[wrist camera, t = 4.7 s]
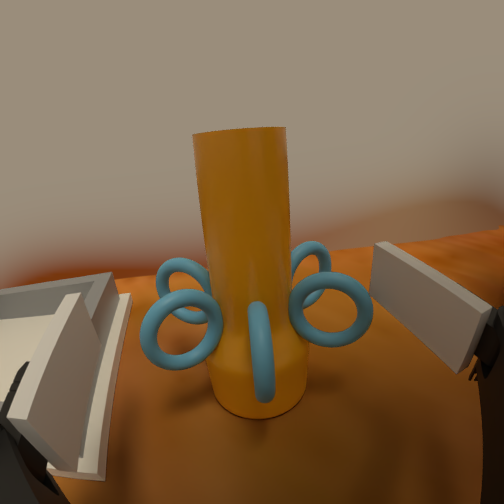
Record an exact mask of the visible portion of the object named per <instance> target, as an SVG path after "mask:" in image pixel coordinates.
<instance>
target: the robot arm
mask: <svg viewBox="0 0 504 504" xmlns="http://www.w3.org/2000/svg"><path fill="white" fill-rule="evenodd" d="M369 295H370V296H371V297H373V298H374V299H375V300H376V301H377V302H378V303H379V304H381V305H382V306H383V307H384V308H385V309H386V310H387V311H389V312H390V313H391V314H392V315H393V316H394V317H395V318H396V319H398V320H399V321H400V322H401V323H402V324H403V325H404V326H405V327H406V328H408V329H409V330H410V331H411V332H412V333H413V334H414V335H415V336H416V337H417V338H418V339H420V340H421V341H422V342H423V343H424V344H425V345H426V346H427V347H428V348H429V349H430V350H431V351H433V352H434V353H435V354H436V355H437V356H438V357H439V358H440V359H441V360H442V361H443V362H444V363H445V364H446V365H447V366H448V367H449V368H451V369H452V370H453V371H454V372H455V373H456V374H458V373H460V372H461V371H462V370H464V369H465V368H467V367H468V366H469V364H470V362H471V360H472V357H473V355H476V356H477V357H478V359H477V361H476V363H475V366H474V368H473V370H472V372H471V374H470V376H469V381H471V379H472V377H473V376H474V374H476V373H477V375H476V377H475V379H474V381H478V386H479V395H480V404H481V415H482V432H483V475H482V491H481V501H480V504H504V306H501V307H499V309H498V310H497V309H496V308H494V307H493V306H491V305H490V304H488V303H487V302H485V301H484V300H482V299H481V298H479V297H478V296H476V295H475V294H473V293H472V292H470V291H469V290H467V289H466V288H464V287H463V286H461V285H460V284H458V283H456V282H454V281H453V280H451V279H449V278H448V277H446V276H445V275H443V274H441V273H440V272H438V271H437V270H435V269H433V268H432V267H430V266H428V265H427V264H425V263H423V262H422V261H420V260H418V259H417V258H415V257H413V256H411V255H410V254H408V253H406V252H404V251H403V250H401V249H399V248H397V247H396V246H394V245H392V244H390V243H389V242H387V241H386V242H380V243H375V244H374V252H373V263H372V272H371V281H370V289H369ZM100 349H101V343H100V340H99V338H98V336H97V333H96V331H95V328H94V326H93V323H92V321H91V318H90V316H89V313H88V310H87V308H86V305H85V302H84V299H83V297H82V294H81V293H74V294H67V295H65V297H64V299H63V300H62V302H61V304H60V306H59V307H58V309H57V311H56V313H55V314H54V316H53V318H52V320H51V321H50V323H49V325H48V327H47V329H46V331H45V333H44V334H43V336H42V338H41V340H40V342H39V344H38V346H37V348H36V350H35V352H34V354H33V356H32V358H31V360H30V361H26V362H25V363H24V364H23V366H22V367H21V368H20V369H19V370H18V371H17V374H16V376H15V378H14V380H13V383H12V384H11V387H10V389H9V391H10V392H8V393H7V396H6V398H5V401H4V403H3V405H2V408H1V410H0V504H70V502H69V501H68V499H67V498H66V497H65V495H64V494H63V492H62V491H61V489H60V488H59V486H58V484H57V483H56V481H55V480H54V478H53V476H52V475H51V474H50V473H49V472H48V471H47V470H46V469H47V463H48V462H49V463H50V464H51V465H52V466H53V467H54V468H55V469H57V470H58V471H66V472H76V473H77V470H78V461H79V453H80V446H81V439H82V433H83V426H84V421H85V415H86V410H87V405H88V400H89V395H90V390H91V386H92V381H93V377H94V373H95V369H96V364H97V360H98V357H99V353H100Z"/></svg>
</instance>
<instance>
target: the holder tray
mask: <svg viewBox="0 0 504 504" xmlns="http://www.w3.org/2000/svg"><path fill="white" fill-rule="evenodd" d="M74 293H81V294H82V297H83V299H84V302H85V305H86V308H87V310H88V313H89V316H90V318H91V321H92V323H93V326H94V328H95V331H96V333H97V336H98V338H99V340H100V343H101V349H100V353H99V357H98V360H97V364H96V369H95V373H94V377H93V381H92V386H91V390H90V395H89V400H88V405H87V410H86V415H85V421H84V426H83V433H82V439H81V446H80V453H79V461H78V470H77V473H76V472H66V471H58V470H57V469H55V468H54V467H53V466H52V465H51V464H50V463H49V462H48V463H47V469H46V470H47V471H48V472H49V473H50V474H51V475H54V476H61V477H68V478H76V479H85V480H96V481H105V477H106V461H107V449H108V438H109V429H110V421H111V413H112V405H113V398H114V392H115V385H116V379H117V374H118V368H119V362H120V357H121V352H122V347H123V342H124V337H125V332H126V328H127V323H128V319H129V315H130V310H131V306H132V302H133V300H132V297H131V294H130V293H126V294H119V295H118V291H117V288H116V284H115V281H114V277H113V274H112V272H109V273H103V274H96V275H90V276H83V277H77V278H70V279H64V280H58V281H51V282H45V283H39V284H32V285H26V286H20V287H13V288H7V289H1V290H0V410H1V408H2V405H3V403H4V401H5V398H6V396H7V393H8V392H10V391H9V389H10V387H11V384H12V383H13V380H14V378H15V376H16V374H17V371H18V370H19V369H20V368H21V367H22V366H23V364H24V363H25V362H26V361H30V360H31V358H32V356H33V354H34V352H35V350H36V348H37V346H38V344H39V342H40V340H41V338H42V336H43V334H44V333H45V331H46V329H47V327H48V325H49V323H50V321H51V320H52V318H53V316H54V314H55V313H56V311H57V309H58V307H59V306H60V304H61V302H62V300H63V299H64V297H65V295H67V294H74Z"/></svg>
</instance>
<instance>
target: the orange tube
mask: <svg viewBox="0 0 504 504" xmlns="http://www.w3.org/2000/svg"><path fill="white" fill-rule="evenodd" d="M192 136H193V147H194V157H195V167H196V175H197V185H198V193H199V202H200V211H201V219H202V226H203V234H204V242H205V249H206V256H207V263H208V271H209V272H208V271H207V270H206V269H205V268H204V267H203V266H201V265H200V264H198V263H196V262H195V261H192V260H190V259H186V258H173V259H170V260H168V261H166V262H165V263H163V264H162V266H161V267H160V268H159V270H158V273H157V276H156V288H157V292H158V295H159V297H160V299H159V300H158V301H157V302H156V303H155V304H154V305H153V306H152V307H151V308H150V309H149V310H148V312H147V313H146V315H145V317H144V319H143V322H142V325H141V329H140V343H141V347H142V350H143V352H144V354H145V355H146V357H147V358H148V359H149V360H150V361H151V362H152V363H153V364H155V365H156V366H158V367H160V368H163V369H166V370H174V371H176V370H184V369H188V368H191V367H193V366H195V365H197V364H199V363H201V362H202V361H204V360H205V359H206V362H207V367H208V371H209V375H210V379H211V383H212V387H213V391H214V394H215V397H216V398H217V400H218V401H219V403H220V404H221V405H222V406H223V407H224V408H225V409H227V410H228V411H230V412H232V413H233V414H235V415H238V416H241V417H244V418H250V419H266V418H272V417H275V416H278V415H281V414H283V413H285V412H287V411H288V410H290V409H291V408H292V407H294V406H295V405H296V404H297V403H298V402H299V400H300V399H301V398H302V396H303V394H304V392H305V389H306V382H307V369H308V354H309V342H311V343H313V344H316V345H319V346H323V347H341V346H345V345H348V344H351V343H353V342H355V341H356V340H358V339H359V338H360V337H362V336H363V335H364V334H365V332H366V331H367V330H368V328H369V326H370V324H371V321H372V318H373V304H372V300H371V298H370V295H369V294H368V292H367V290H366V289H365V288H364V287H363V286H362V285H361V284H360V283H359V282H358V281H357V280H355V279H354V278H352V277H350V276H348V275H345V274H342V273H337V272H331V258H330V254H329V252H328V250H327V249H326V247H325V246H324V245H322V244H321V243H319V242H315V241H309V242H305V243H302V244H300V245H299V246H298V247H296V248H295V249H294V250H293V251H292V252H291V235H290V204H289V182H288V162H287V143H286V127H259V128H243V129H230V130H222V131H212V132H205V133H198V134H193V135H192ZM312 254H313V255H316V256H317V258H318V260H319V273H316V274H313V275H310V276H308V277H306V278H304V279H303V280H301V281H300V282H299V283H298V284H297V285H296V286H295V287H294V289H293V290H292V280H293V276H294V273H295V271H296V269H297V267H298V265H299V264H300V262H301V261H302V260H303V259H304V258H305V257H307V256H309V255H312ZM174 272H184V273H187V274H189V275H191V276H192V277H193V278H195V279H196V280H197V281H198V282H199V283H200V285H201V286H202V288H203V289H204V291H205V292H202V291H199V290H195V289H182V290H177V291H174V292H170V289H169V277H170V275H171V274H172V273H174ZM325 289H336V290H339V291H342V292H344V293H346V294H347V295H348V296H350V297H351V298H352V299H353V301H354V302H355V304H356V307H357V318H356V320H355V322H354V323H353V325H352V326H351V327H349V328H348V329H346V330H344V331H341V332H336V333H329V332H324V331H320V330H318V329H316V328H314V327H313V326H312V325H311V324H309V322H308V321H307V320H306V318H305V316H304V314H303V309H305V308H307V307H309V306H311V305H312V304H314V303H315V302H316V301H317V300H318V299H319V298H320V296H321V295H322V293H323V292H324V290H325ZM188 306H192V307H197V308H199V309H201V310H202V311H198V312H195V311H190V310H188V309H186V308H184V307H188ZM170 313H172V314H173V315H174V316H175V317H177V318H178V319H180V320H182V321H184V322H187V323H190V324H204V323H207V322H208V328H207V332H206V334H205V336H204V338H203V340H202V341H201V342H200V344H199V345H198V346H196V347H195V348H194V349H193V350H191V351H189V352H187V353H185V354H181V355H170V354H167V353H165V352H163V351H162V350H161V349H160V347H159V345H158V343H157V333H158V329H159V327H160V325H161V323H162V322H163V320H164V319H165V318H166V317H167V316H168V315H169V314H170Z"/></svg>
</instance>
